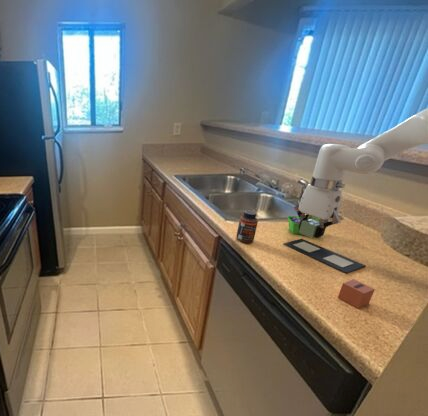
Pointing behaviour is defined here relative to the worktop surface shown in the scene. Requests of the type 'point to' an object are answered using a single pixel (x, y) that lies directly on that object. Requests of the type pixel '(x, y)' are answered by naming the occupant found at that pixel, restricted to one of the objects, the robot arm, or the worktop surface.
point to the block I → (356, 293)
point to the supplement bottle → (247, 227)
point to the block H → (309, 227)
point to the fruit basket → (297, 223)
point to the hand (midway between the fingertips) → (309, 233)
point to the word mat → (325, 255)
